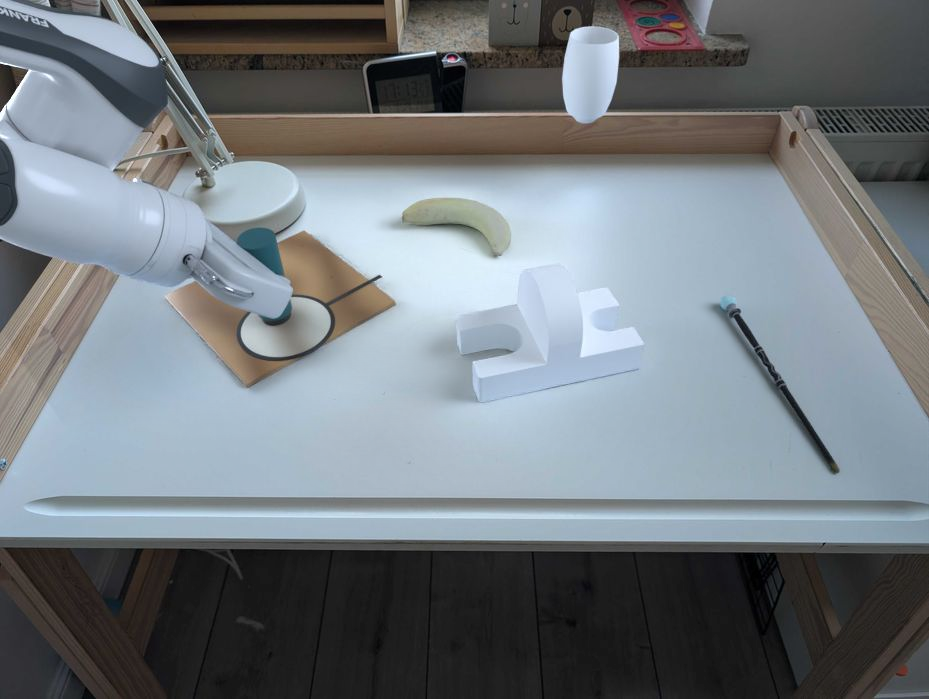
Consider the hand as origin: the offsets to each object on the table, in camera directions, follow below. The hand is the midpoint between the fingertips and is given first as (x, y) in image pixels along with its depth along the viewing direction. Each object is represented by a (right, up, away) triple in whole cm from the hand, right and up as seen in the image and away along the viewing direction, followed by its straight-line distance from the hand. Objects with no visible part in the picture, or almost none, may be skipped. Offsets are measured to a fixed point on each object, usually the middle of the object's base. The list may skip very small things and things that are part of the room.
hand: (270, 274), depth 80 cm
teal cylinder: (0, -5, +4) cm, 6 cm away
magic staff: (+54, -12, -4) cm, 56 cm away
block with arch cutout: (+31, -9, 0) cm, 32 cm away
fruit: (+21, +7, +16) cm, 27 cm away
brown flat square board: (-1, -3, +7) cm, 7 cm away
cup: (+38, +16, +25) cm, 49 cm away
